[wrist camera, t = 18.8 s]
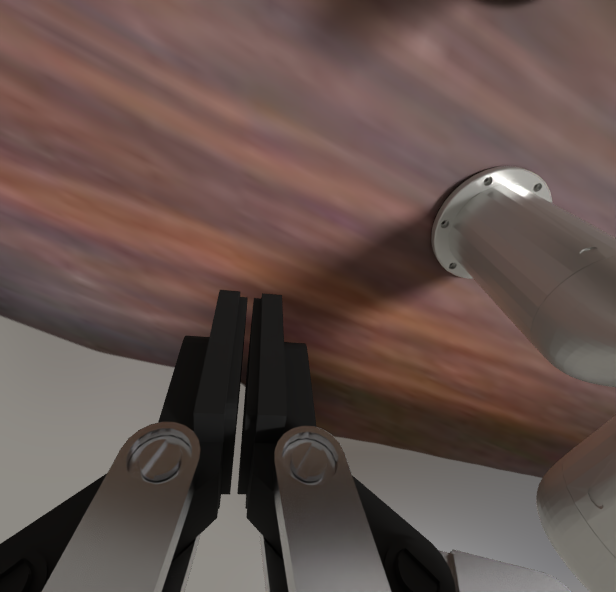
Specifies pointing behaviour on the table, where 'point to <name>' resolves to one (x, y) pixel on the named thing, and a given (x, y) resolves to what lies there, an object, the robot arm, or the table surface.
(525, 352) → the table surface
